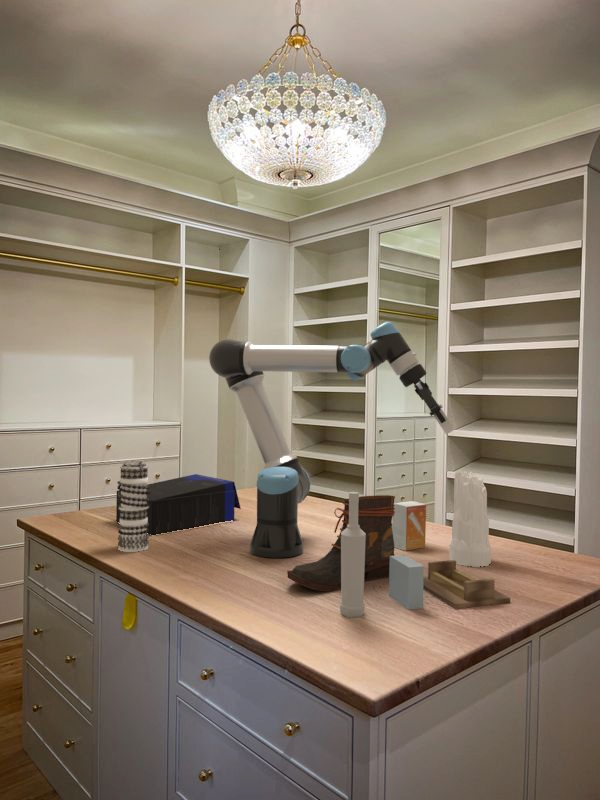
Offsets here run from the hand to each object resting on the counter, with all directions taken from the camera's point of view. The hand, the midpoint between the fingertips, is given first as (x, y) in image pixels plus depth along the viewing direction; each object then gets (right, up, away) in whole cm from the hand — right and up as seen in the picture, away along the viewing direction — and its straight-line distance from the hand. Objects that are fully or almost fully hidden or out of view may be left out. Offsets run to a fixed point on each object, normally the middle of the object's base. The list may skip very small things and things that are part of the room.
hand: (450, 430), depth 172 cm
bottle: (-33, -36, -49) cm, 69 cm away
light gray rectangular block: (-20, -35, -42) cm, 58 cm away
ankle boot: (-33, -35, -27) cm, 56 cm away
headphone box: (-85, -34, +35) cm, 98 cm away
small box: (-11, -35, +5) cm, 37 cm away
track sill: (-7, -35, -35) cm, 50 cm away
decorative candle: (-92, -34, -1) cm, 98 cm away
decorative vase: (+3, -35, -10) cm, 37 cm away
